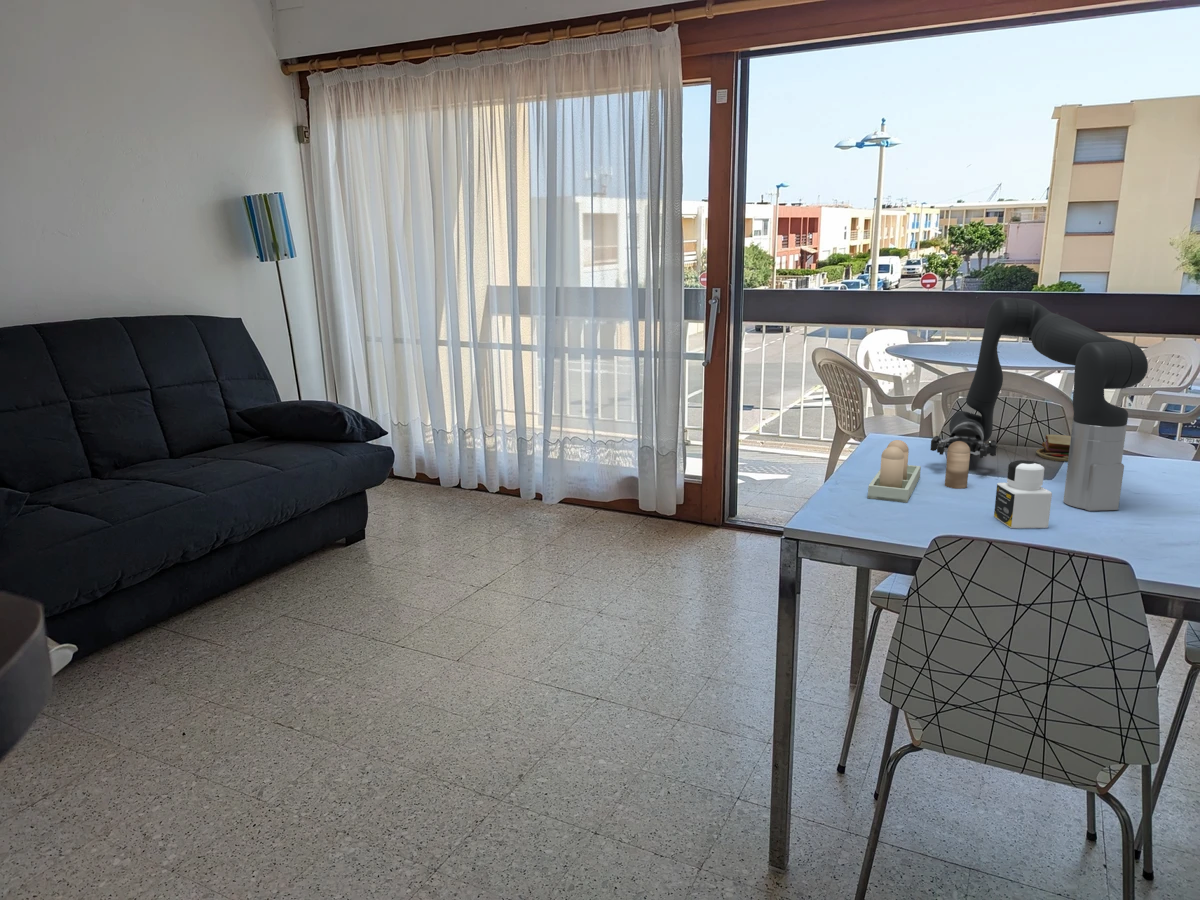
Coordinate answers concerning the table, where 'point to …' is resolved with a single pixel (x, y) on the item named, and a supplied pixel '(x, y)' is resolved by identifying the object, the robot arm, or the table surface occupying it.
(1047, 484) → the table surface
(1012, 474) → the medicine bottle
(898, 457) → the compartment tray
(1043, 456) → the toy sandwich meal
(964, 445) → the round-topped wooden peg
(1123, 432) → the robot arm
